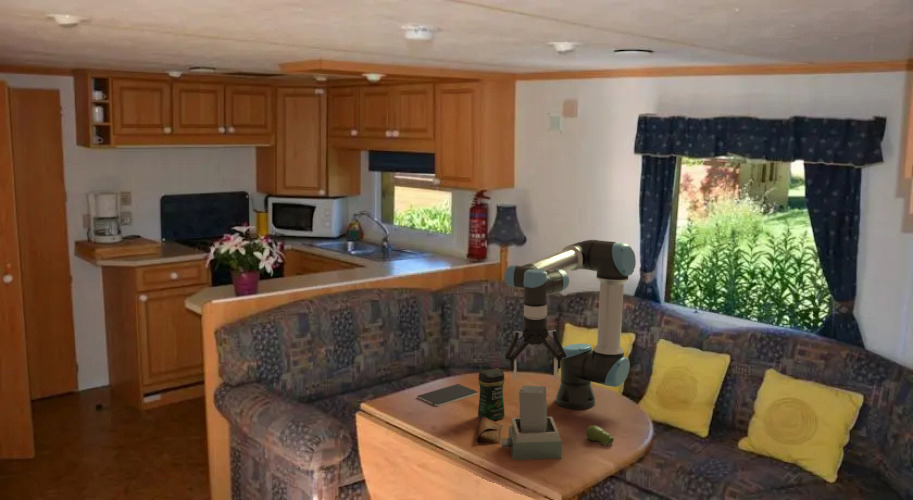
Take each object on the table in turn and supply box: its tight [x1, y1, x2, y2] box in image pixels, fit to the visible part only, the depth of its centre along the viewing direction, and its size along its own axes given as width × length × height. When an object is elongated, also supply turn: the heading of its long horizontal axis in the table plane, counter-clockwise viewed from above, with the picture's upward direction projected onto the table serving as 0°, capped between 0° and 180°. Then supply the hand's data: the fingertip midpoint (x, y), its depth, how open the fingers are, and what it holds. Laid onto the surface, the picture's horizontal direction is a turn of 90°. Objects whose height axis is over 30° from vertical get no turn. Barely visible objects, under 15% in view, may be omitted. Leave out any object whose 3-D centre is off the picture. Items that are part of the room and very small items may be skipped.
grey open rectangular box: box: [501, 416, 563, 461], centre depth 272 cm, size 19×14×9 cm
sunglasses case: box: [476, 416, 503, 445], centre depth 287 cm, size 18×7×7 cm
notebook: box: [417, 383, 478, 407], centre depth 325 cm, size 13×2×21 cm
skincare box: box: [518, 384, 548, 433], centre depth 271 cm, size 8×7×16 cm
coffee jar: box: [477, 367, 506, 421], centre depth 301 cm, size 10×8×19 cm
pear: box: [585, 424, 615, 446], centre depth 279 cm, size 6×5×10 cm
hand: (535, 378), depth 269 cm, fingers open, 13 cm apart
